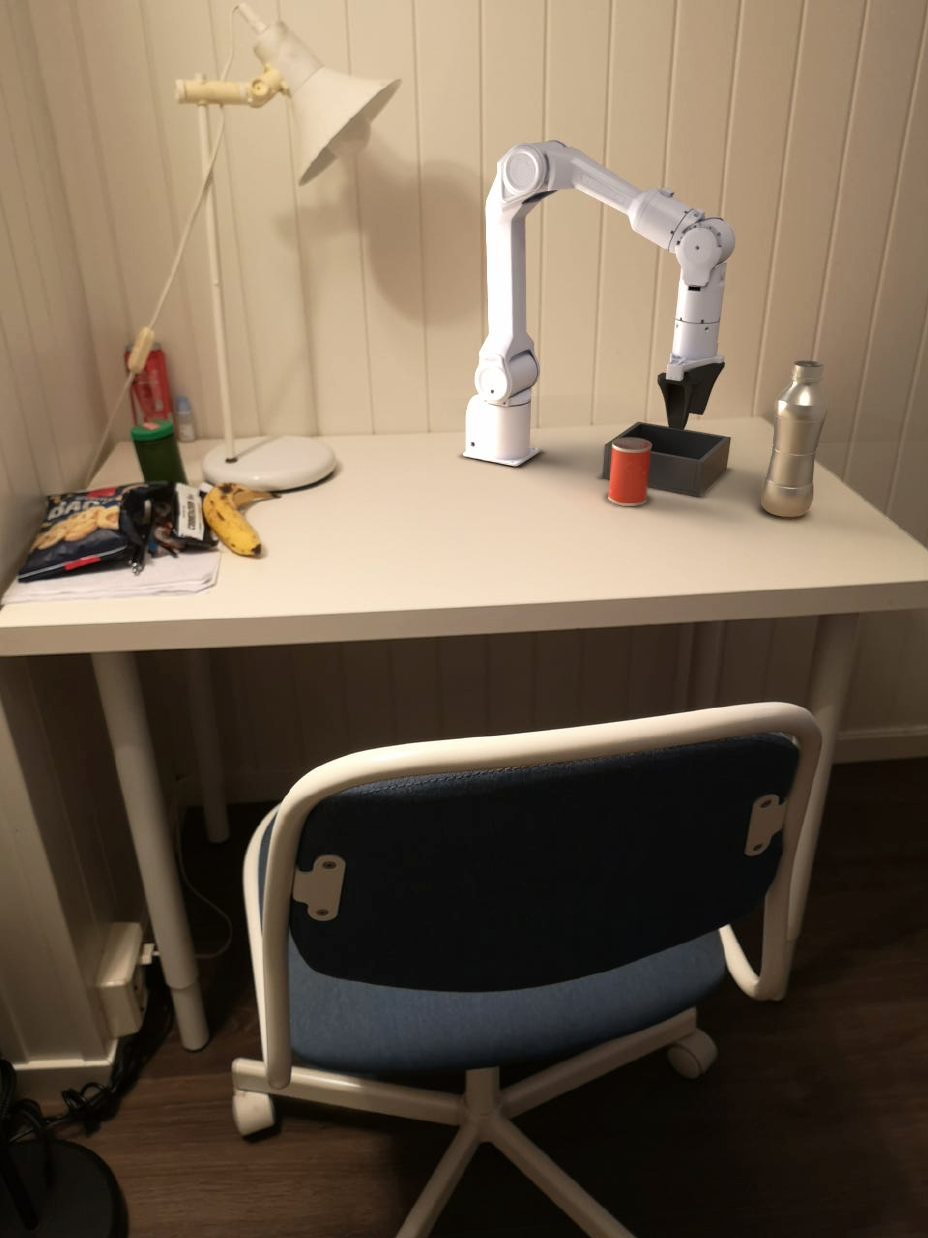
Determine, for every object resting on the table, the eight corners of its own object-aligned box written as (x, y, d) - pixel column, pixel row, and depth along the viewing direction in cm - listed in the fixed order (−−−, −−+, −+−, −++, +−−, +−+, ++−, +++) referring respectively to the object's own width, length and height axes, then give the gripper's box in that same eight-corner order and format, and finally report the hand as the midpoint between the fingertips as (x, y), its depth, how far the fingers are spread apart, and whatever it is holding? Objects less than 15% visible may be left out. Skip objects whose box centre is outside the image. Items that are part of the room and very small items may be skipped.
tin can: (601, 501, 135) (605, 445, 131) (617, 489, 139) (621, 434, 135) (637, 509, 132) (643, 452, 128) (652, 496, 136) (657, 441, 132)
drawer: (602, 477, 143) (604, 444, 140) (635, 453, 152) (637, 421, 150) (698, 497, 136) (703, 462, 134) (726, 469, 146) (731, 436, 143)
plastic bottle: (812, 524, 128) (840, 372, 118) (758, 520, 129) (782, 369, 119) (807, 506, 133) (834, 358, 123) (756, 502, 134) (778, 356, 125)
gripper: (709, 333, 120) (696, 440, 126) (744, 312, 131) (731, 411, 137) (655, 326, 123) (645, 431, 130) (693, 306, 134) (683, 403, 140)
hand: (686, 420), depth 134 cm, fingers open, 7 cm apart
